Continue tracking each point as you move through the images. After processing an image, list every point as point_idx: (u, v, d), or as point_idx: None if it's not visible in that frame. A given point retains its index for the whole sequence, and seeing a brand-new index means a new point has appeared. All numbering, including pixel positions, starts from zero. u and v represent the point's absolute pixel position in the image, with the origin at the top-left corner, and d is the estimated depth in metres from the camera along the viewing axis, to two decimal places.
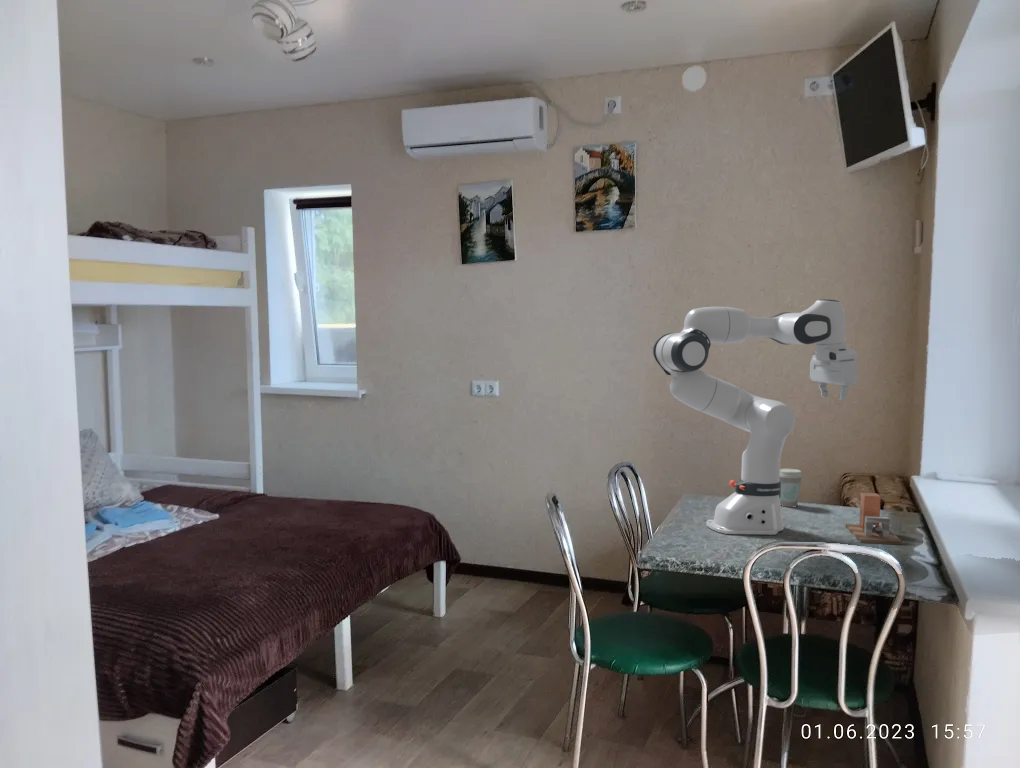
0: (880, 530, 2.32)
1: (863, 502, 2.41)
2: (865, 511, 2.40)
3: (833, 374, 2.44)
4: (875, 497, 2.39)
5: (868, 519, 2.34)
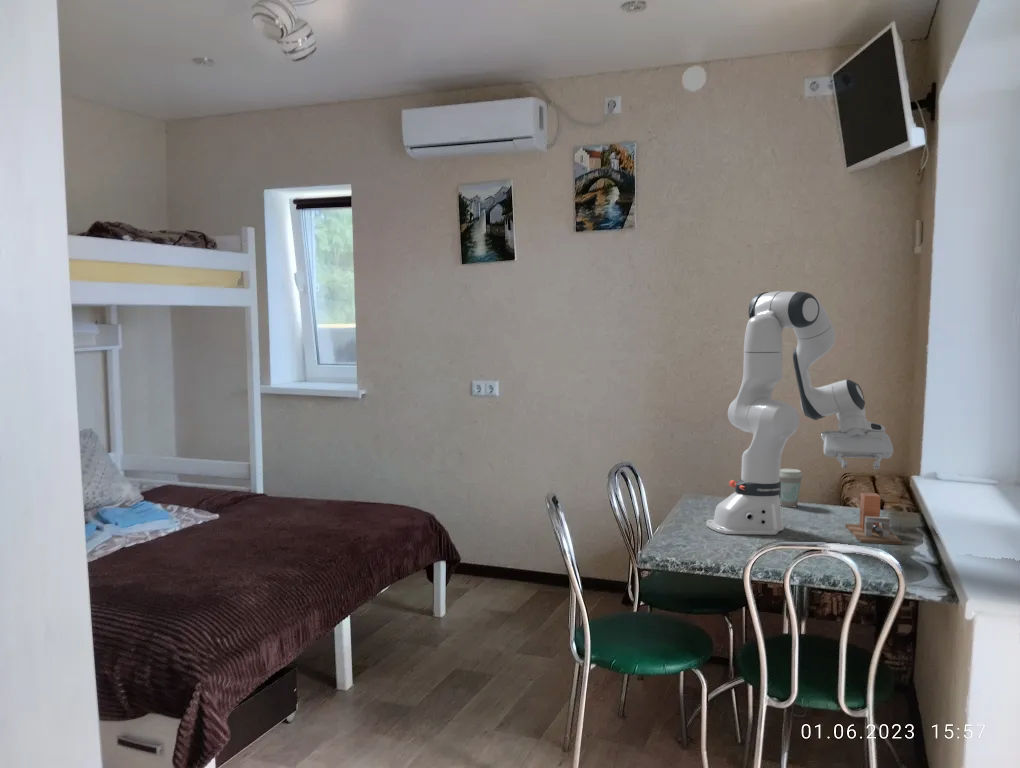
0: (880, 530, 2.32)
1: (863, 502, 2.41)
2: (865, 511, 2.40)
3: (870, 443, 2.56)
4: (875, 497, 2.39)
5: (868, 519, 2.34)
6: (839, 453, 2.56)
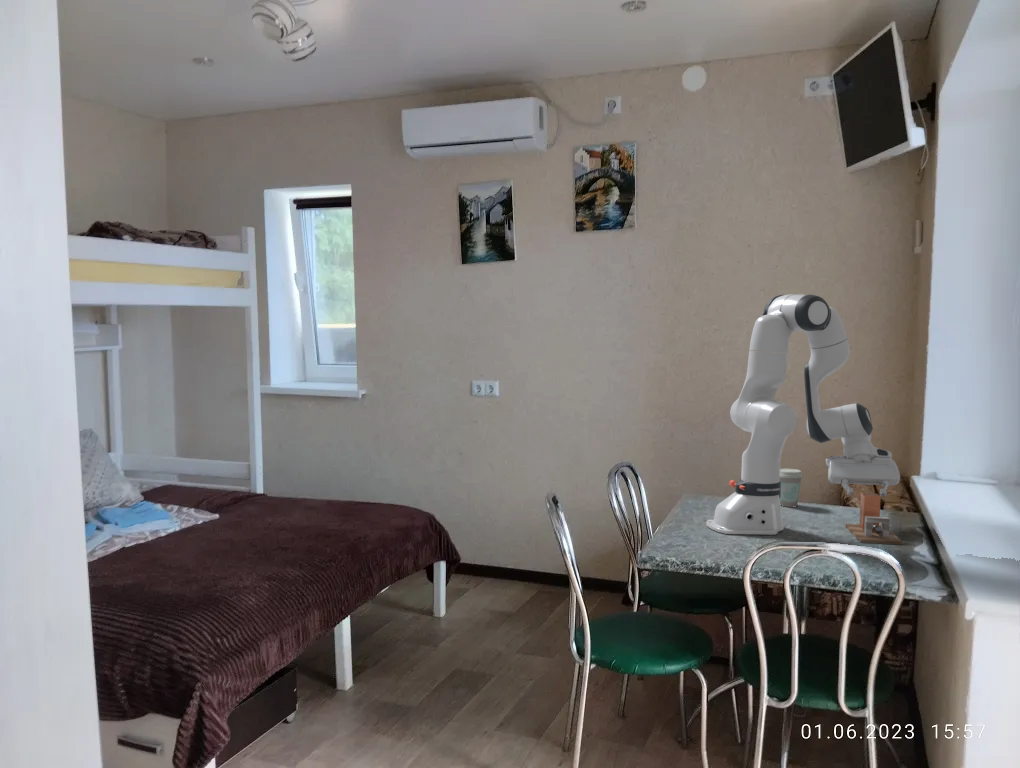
0: (880, 530, 2.32)
1: (863, 502, 2.41)
2: (865, 511, 2.40)
3: (876, 470, 2.49)
4: (875, 497, 2.39)
5: (868, 519, 2.34)
6: (844, 480, 2.49)
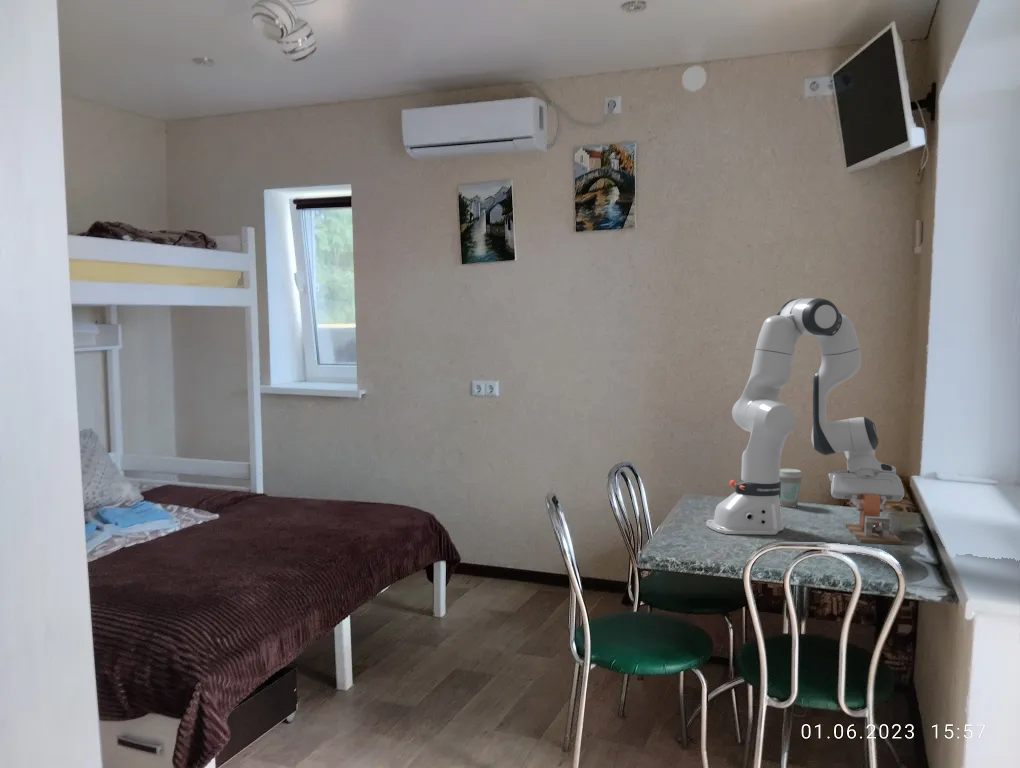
0: (880, 530, 2.32)
1: (863, 502, 2.41)
2: (865, 511, 2.40)
3: (880, 485, 2.44)
4: (875, 497, 2.39)
5: (868, 519, 2.34)
6: (854, 495, 2.44)
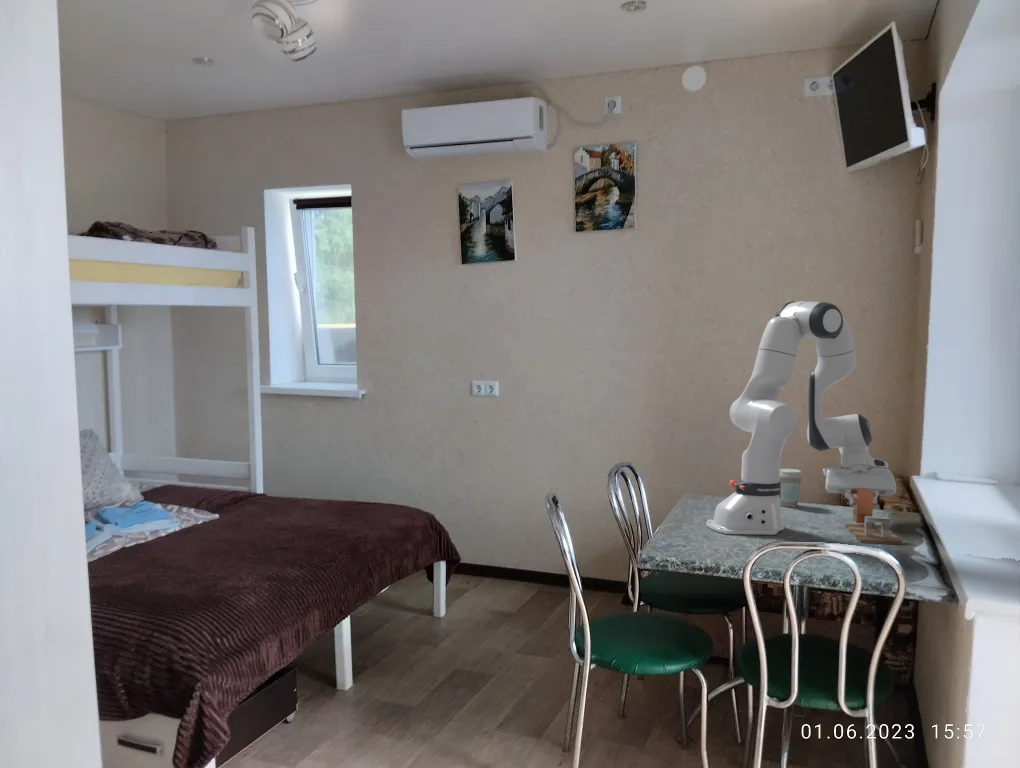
0: (873, 523, 2.40)
1: (856, 496, 2.49)
2: (858, 505, 2.48)
3: (873, 480, 2.52)
4: (868, 491, 2.47)
5: (868, 519, 2.34)
6: (847, 490, 2.52)
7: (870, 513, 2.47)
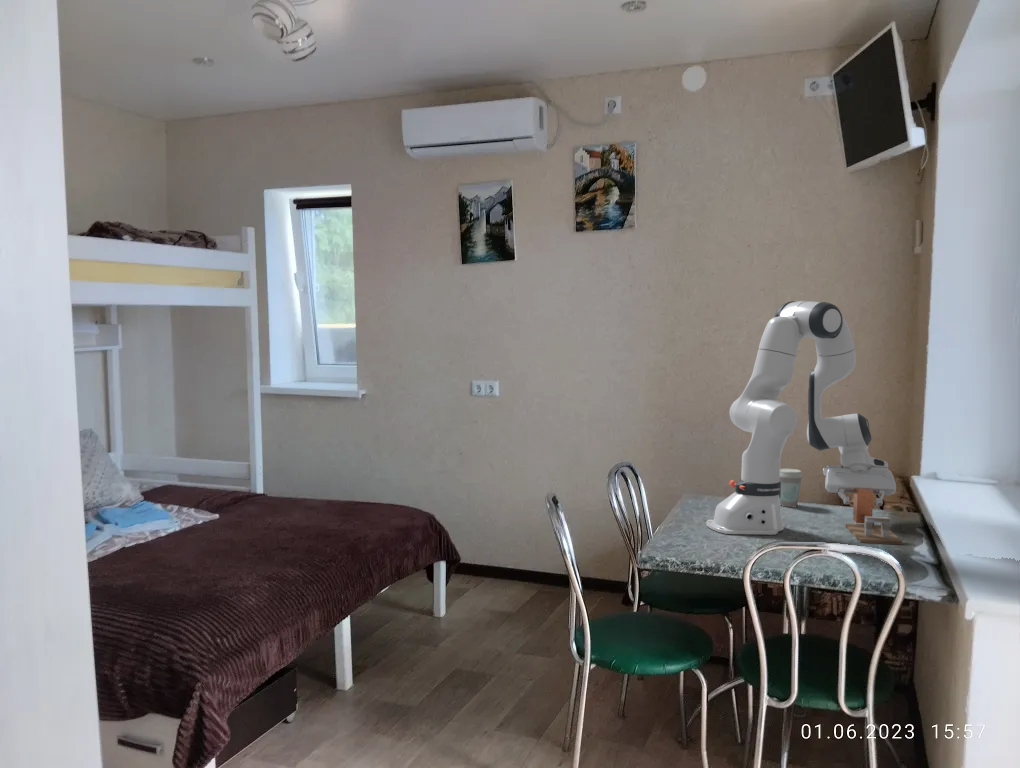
0: (873, 523, 2.40)
1: (856, 496, 2.49)
2: (858, 505, 2.48)
3: (872, 480, 2.52)
4: (868, 491, 2.47)
5: (868, 519, 2.34)
6: (841, 489, 2.52)
7: (870, 513, 2.48)
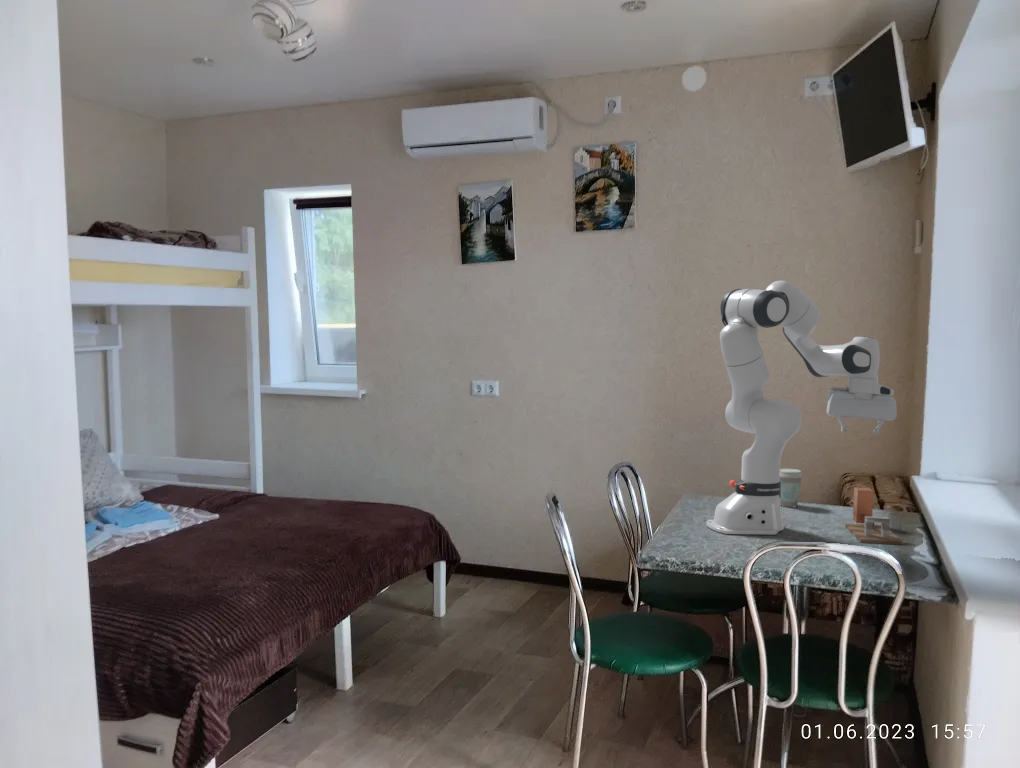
0: (873, 523, 2.40)
1: (856, 496, 2.49)
2: (858, 505, 2.48)
3: (874, 408, 2.55)
4: (868, 491, 2.47)
5: (868, 519, 2.34)
6: (841, 417, 2.57)
7: (870, 513, 2.48)
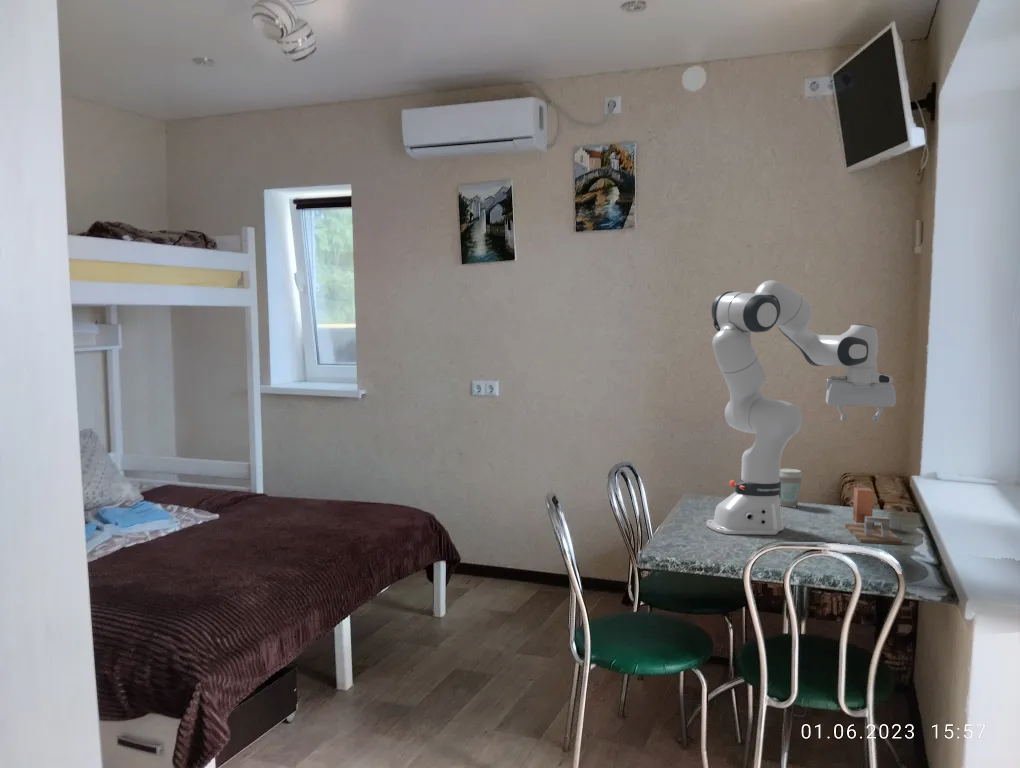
0: (873, 523, 2.40)
1: (856, 496, 2.49)
2: (858, 505, 2.48)
3: (873, 397, 2.54)
4: (868, 491, 2.47)
5: (868, 519, 2.34)
6: (840, 406, 2.56)
7: (870, 513, 2.48)
